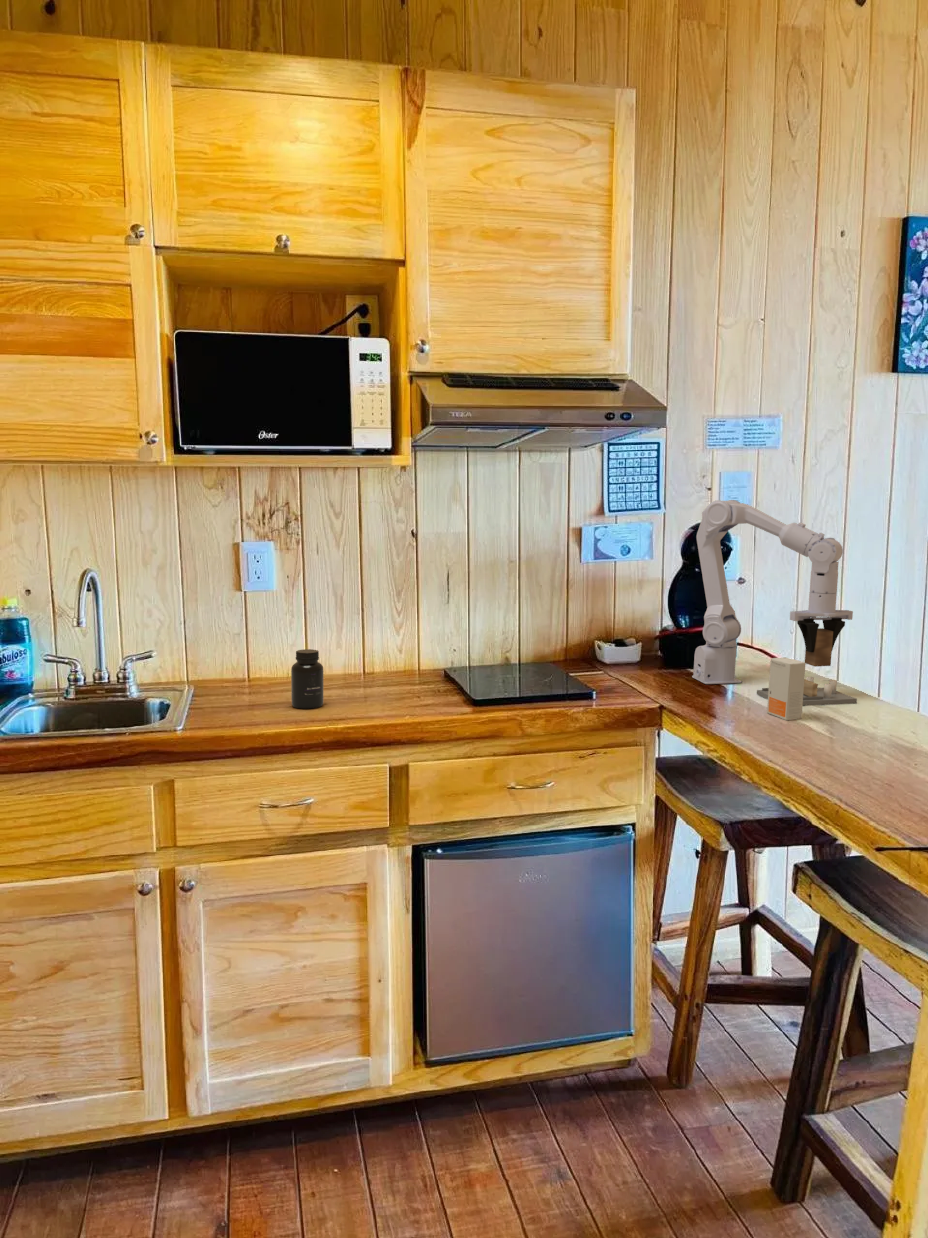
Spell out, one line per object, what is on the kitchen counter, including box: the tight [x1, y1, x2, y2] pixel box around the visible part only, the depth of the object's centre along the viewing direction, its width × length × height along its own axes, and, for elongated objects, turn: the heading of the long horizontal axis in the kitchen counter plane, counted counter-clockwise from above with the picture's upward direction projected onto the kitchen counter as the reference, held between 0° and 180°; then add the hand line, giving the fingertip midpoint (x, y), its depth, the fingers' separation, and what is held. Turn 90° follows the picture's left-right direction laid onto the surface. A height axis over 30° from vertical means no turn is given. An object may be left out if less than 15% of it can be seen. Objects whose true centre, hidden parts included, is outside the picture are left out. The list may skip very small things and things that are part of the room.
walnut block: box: [804, 627, 833, 667], centre depth 198 cm, size 4×4×8 cm
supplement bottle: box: [290, 648, 324, 710], centre depth 186 cm, size 7×7×12 cm
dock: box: [756, 676, 858, 706], centre depth 196 cm, size 18×11×4 cm, turn 100°
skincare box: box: [766, 656, 807, 721], centre depth 180 cm, size 6×4×12 cm
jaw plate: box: [803, 678, 819, 697], centre depth 195 cm, size 1×8×3 cm, turn 11°
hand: (818, 651), depth 198 cm, fingers closed on walnut block, 4 cm apart
